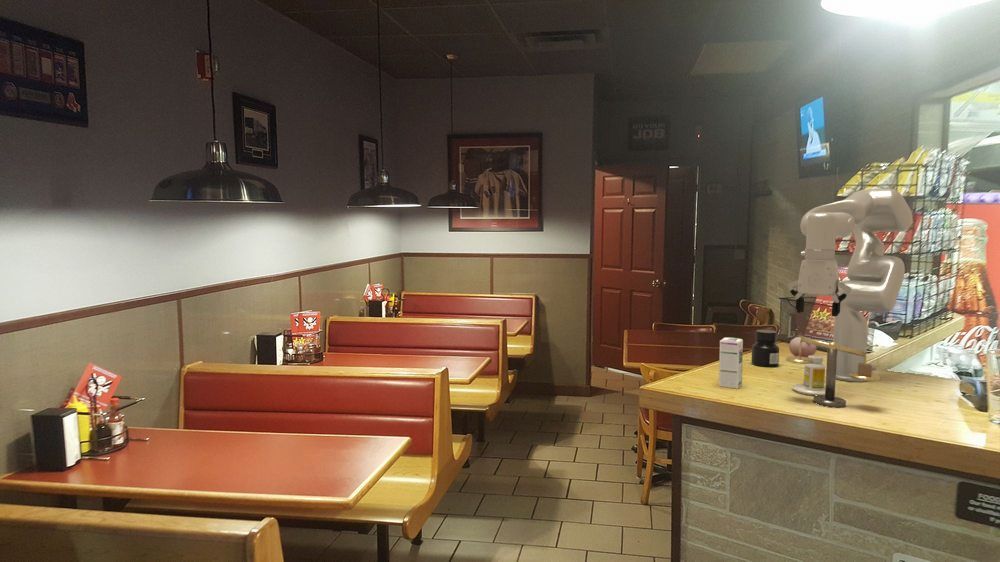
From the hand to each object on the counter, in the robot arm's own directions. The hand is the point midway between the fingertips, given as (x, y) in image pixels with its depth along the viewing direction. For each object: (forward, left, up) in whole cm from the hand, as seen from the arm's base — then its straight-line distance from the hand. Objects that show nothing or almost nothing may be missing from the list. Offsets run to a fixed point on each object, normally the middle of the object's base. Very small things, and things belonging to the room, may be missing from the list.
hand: (817, 314), depth 180 cm
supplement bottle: (0, 0, -22) cm, 22 cm away
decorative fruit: (-29, -35, -24) cm, 51 cm away
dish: (0, 0, -23) cm, 23 cm away
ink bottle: (-12, -34, -24) cm, 43 cm away
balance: (+5, +11, -23) cm, 26 cm away
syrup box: (+19, -13, -24) cm, 33 cm away
